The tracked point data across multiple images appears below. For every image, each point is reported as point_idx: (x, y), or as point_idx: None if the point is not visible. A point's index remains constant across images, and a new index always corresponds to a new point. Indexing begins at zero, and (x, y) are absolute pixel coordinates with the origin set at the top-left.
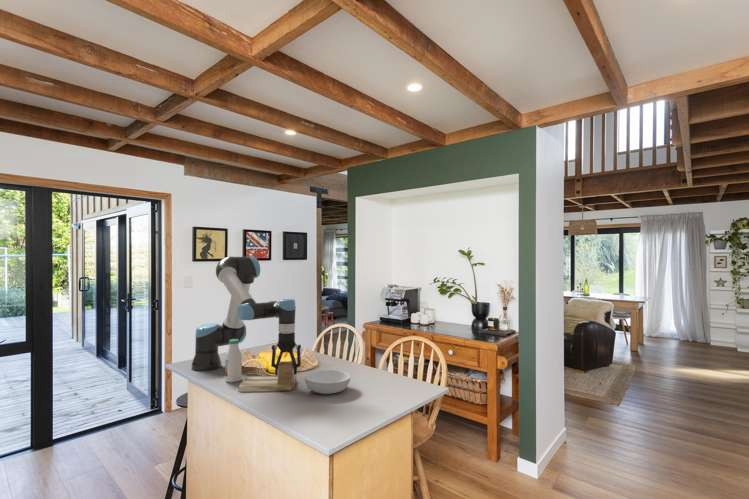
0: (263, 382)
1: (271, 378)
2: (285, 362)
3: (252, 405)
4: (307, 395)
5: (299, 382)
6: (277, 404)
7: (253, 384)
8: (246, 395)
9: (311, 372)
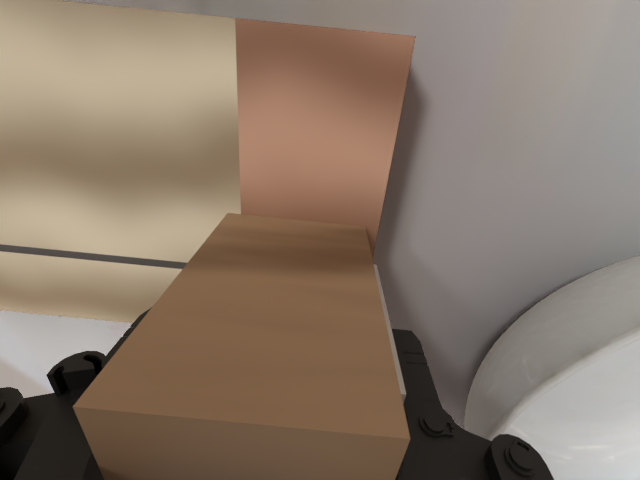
0: (72, 242)
1: (98, 110)
2: (219, 472)
3: None
4: (443, 396)
5: (436, 105)
6: None
7: (8, 282)
8: (60, 343)
9: (621, 346)
